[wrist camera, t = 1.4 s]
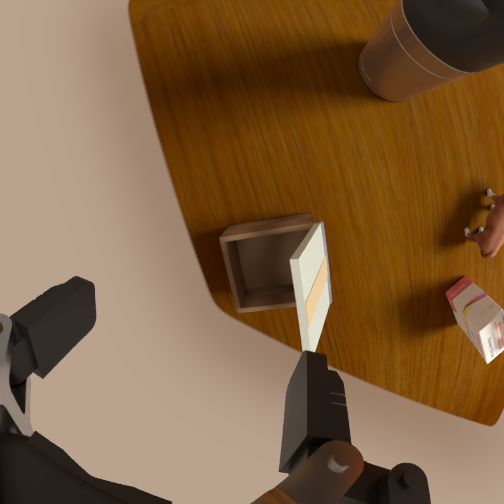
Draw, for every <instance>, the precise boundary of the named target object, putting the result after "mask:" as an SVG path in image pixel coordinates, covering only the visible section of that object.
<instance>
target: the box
mask: <svg viewBox="0 0 504 504" xmlns="http://www.w3.org/2000/svg"><path fill="white" fill-rule="evenodd" d="M314 223H315V222H314V219H313V216H312V214H311V213H305V214H298V215H291V216H285V217H279V218H272V219H266V220H260V221H254V222H248V223H242V224H236V225H230V226H229V227H228V228H227V229H226V230H225V231H224V232H223V234H222V235H221V236H220V237H219V240H220V244H221V248H222V253H223V257H224V261H225V265H226V270H227V274H228V278H229V282H230V286H231V290H232V294H233V298H234V302H235V306H236V310H237V313H243V312H253V311H262V310H271V309H279V308H287V307H295V306H297V305H296V298H295V291H294V284H293V278H292V271H291V265H290V258H291V257H292V255H293V254H294V253H295V251H296V250H297V248H298V247H299V245H300V244H301V242H302V241H303V239H304V238H305V237H306V235H307V234H308V232H309V231H310V229H311V228H312V226H313V225H314Z"/></svg>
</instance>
